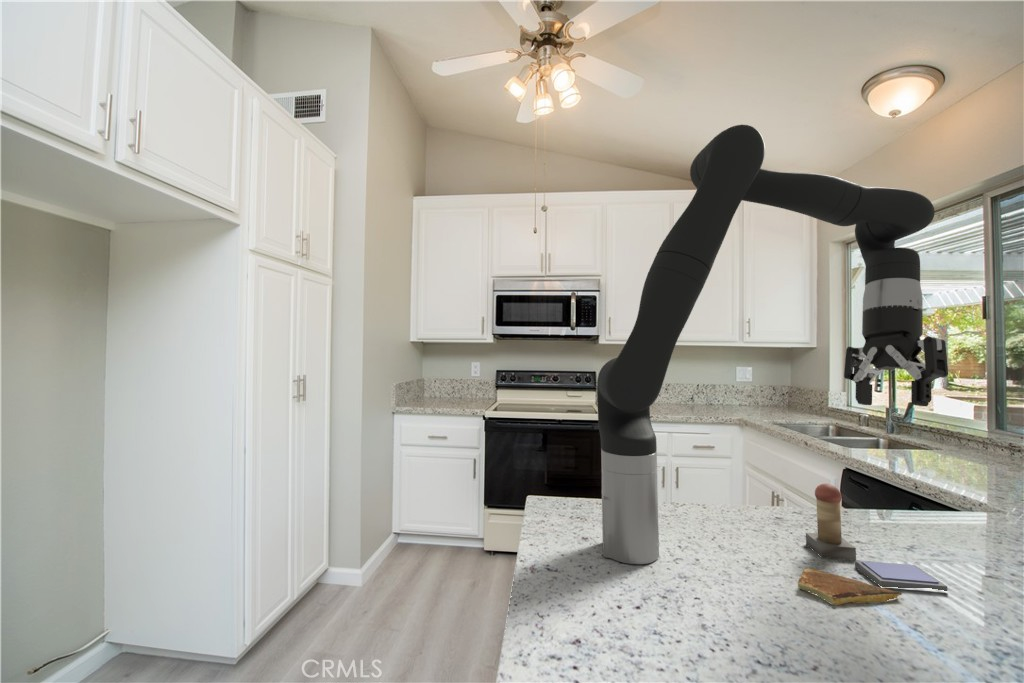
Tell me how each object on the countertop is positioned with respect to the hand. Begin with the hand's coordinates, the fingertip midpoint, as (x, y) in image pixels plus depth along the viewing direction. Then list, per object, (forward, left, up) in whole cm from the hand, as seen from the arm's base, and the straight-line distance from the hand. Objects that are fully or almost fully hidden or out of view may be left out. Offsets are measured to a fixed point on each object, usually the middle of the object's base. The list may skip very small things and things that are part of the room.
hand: (890, 405), depth 68 cm
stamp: (-9, +1, -25) cm, 27 cm away
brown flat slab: (-14, -11, -26) cm, 31 cm away
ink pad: (-4, -7, -25) cm, 26 cm away
